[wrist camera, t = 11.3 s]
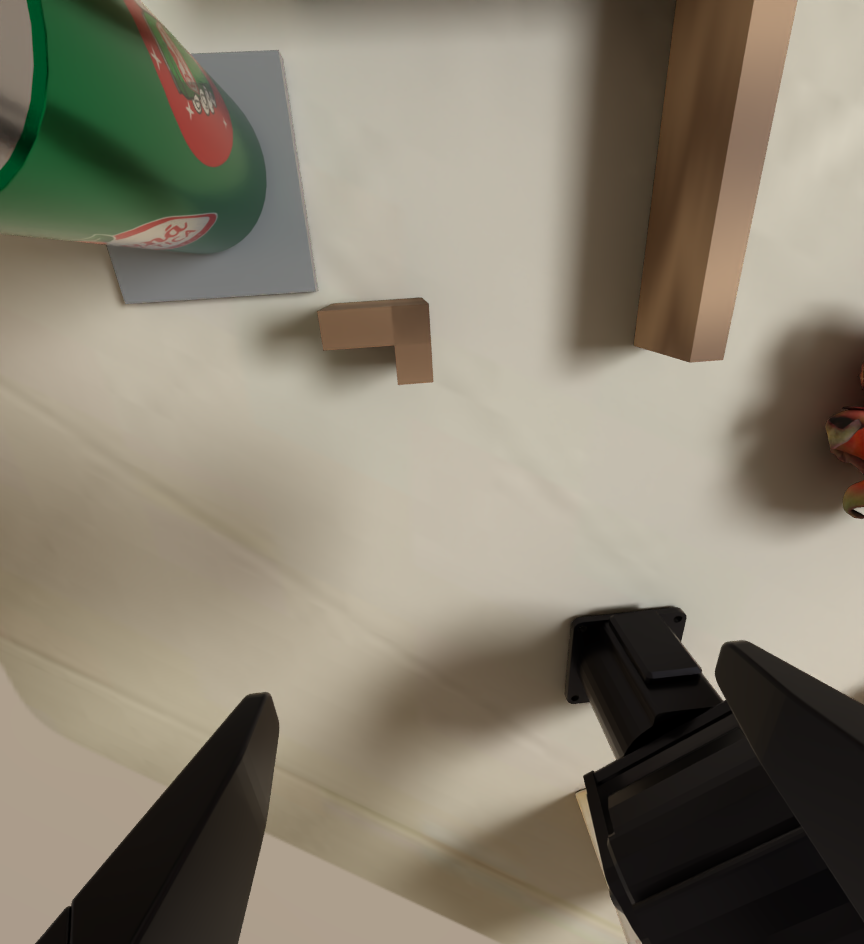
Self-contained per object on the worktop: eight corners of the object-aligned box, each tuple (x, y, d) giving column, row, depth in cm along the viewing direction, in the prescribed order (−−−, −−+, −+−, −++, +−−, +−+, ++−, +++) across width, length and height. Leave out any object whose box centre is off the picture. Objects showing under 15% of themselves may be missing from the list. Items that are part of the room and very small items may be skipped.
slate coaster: (318, 290, 17) (315, 291, 17) (134, 303, 17) (125, 303, 16) (283, 58, 14) (278, 50, 14) (59, 67, 14) (46, 59, 14)
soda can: (119, 238, 16) (-526, 156, 5) (104, 55, 14) (-1077, -835, 3) (268, 267, 16) (12, 255, 5) (274, 98, 14) (-107, -462, 3)
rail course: (660, 343, 19) (722, 359, 16) (342, 367, 19) (329, 390, 15) (722, -72, 14) (837, -194, 10) (282, -59, 13) (240, -184, 10)
